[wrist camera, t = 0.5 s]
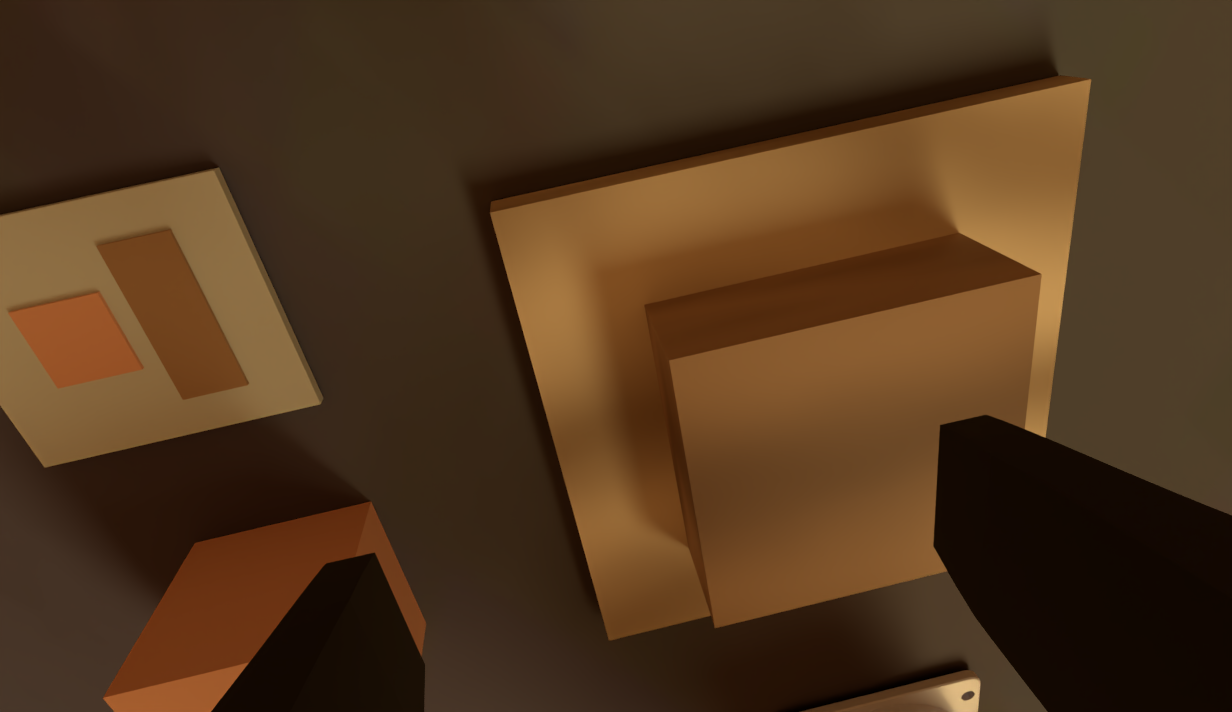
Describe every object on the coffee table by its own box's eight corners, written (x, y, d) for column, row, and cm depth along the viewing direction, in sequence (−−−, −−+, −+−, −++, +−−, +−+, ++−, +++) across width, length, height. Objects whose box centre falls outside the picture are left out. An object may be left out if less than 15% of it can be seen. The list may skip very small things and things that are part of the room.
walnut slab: (946, 485, 21) (1010, 555, 18) (688, 547, 21) (714, 628, 18) (959, 232, 17) (1041, 274, 14) (644, 304, 17) (669, 360, 14)
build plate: (1012, 516, 23) (1032, 536, 22) (605, 616, 23) (609, 640, 22) (1060, 75, 17) (1090, 79, 16) (491, 201, 16) (490, 212, 15)
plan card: (323, 398, 18) (319, 406, 18) (51, 460, 18) (42, 470, 17) (218, 167, 15) (212, 171, 15) (-106, 237, 15) (-121, 243, 14)
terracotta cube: (426, 621, 22) (405, 776, 18) (269, 659, 22) (208, 825, 17) (371, 499, 20) (330, 642, 15) (195, 540, 19) (102, 698, 15)
